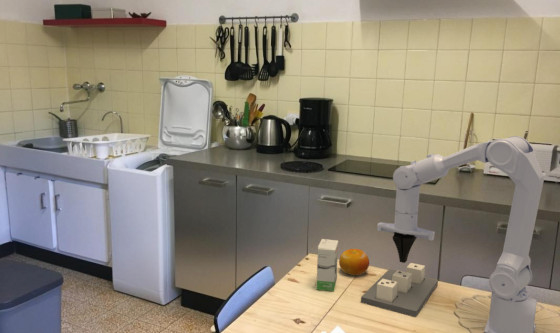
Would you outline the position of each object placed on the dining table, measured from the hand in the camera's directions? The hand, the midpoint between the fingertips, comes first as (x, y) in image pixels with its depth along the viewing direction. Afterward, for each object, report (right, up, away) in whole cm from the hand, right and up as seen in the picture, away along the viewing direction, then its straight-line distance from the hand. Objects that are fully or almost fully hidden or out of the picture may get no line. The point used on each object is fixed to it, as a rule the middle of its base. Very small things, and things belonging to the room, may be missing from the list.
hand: (403, 261), depth 125 cm
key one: (+5, -8, +7) cm, 12 cm away
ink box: (-20, -8, +6) cm, 22 cm away
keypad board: (0, -9, +2) cm, 9 cm away
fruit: (-11, -7, +15) cm, 19 cm away
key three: (-5, -9, -4) cm, 12 cm away
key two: (0, -8, +2) cm, 9 cm away
